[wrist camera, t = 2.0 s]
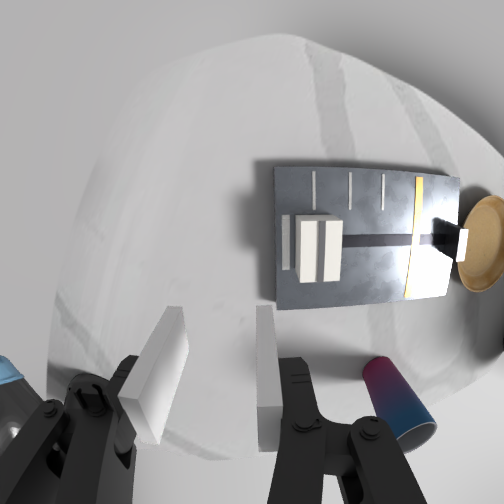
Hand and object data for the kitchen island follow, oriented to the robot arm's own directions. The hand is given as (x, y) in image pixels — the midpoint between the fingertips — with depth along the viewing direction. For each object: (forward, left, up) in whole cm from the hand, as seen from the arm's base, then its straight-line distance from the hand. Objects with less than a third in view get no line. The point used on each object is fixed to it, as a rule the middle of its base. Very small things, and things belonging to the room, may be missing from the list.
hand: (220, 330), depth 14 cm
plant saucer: (+36, -1, -19) cm, 41 cm away
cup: (+20, -21, -19) cm, 35 cm away
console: (+16, 0, -19) cm, 25 cm away
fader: (+8, 0, -16) cm, 18 cm away
